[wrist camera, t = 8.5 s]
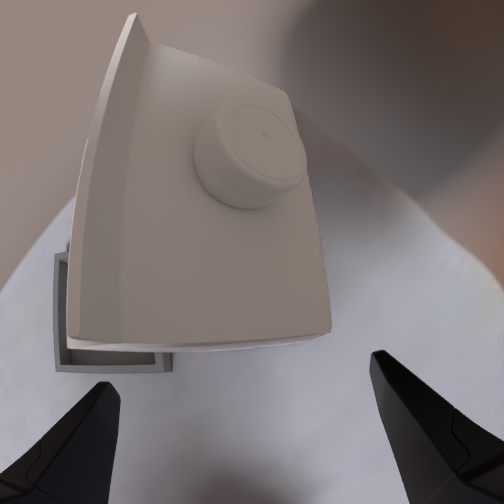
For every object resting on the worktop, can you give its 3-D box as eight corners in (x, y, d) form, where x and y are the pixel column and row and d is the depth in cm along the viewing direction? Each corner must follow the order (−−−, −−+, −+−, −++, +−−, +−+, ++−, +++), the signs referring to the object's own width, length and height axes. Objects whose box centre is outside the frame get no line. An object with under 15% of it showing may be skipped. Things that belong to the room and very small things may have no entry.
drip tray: (172, 371, 21) (164, 372, 20) (66, 371, 22) (55, 371, 21) (162, 239, 24) (155, 233, 23) (64, 258, 25) (54, 254, 24)
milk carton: (204, 352, 22) (-51, 331, 4) (198, 256, 24) (24, 63, 6) (305, 342, 21) (389, 310, 3) (292, 244, 23) (282, -18, 5)
